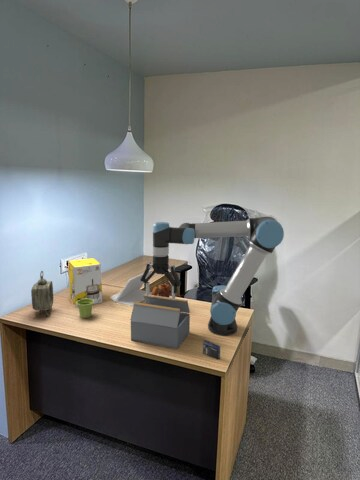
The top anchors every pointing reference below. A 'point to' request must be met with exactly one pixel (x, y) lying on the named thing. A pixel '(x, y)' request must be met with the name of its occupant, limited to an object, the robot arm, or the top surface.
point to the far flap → (167, 302)
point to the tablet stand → (131, 291)
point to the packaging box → (85, 280)
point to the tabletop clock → (42, 295)
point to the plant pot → (85, 307)
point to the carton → (161, 332)
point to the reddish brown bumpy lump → (161, 291)
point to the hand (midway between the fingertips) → (160, 297)
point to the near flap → (155, 314)
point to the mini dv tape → (211, 349)
